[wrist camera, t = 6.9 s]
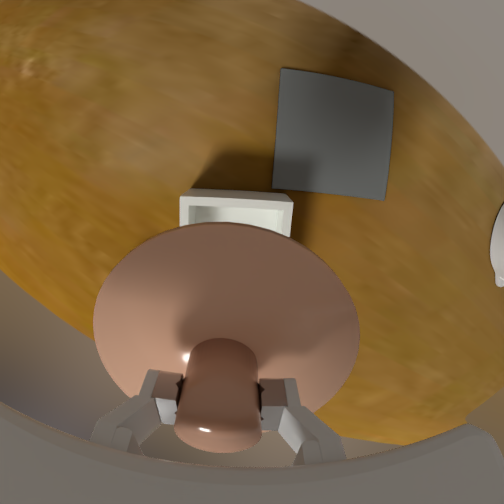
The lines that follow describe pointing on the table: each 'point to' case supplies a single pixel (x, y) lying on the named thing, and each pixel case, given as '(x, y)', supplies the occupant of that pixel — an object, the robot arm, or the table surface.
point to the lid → (226, 325)
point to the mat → (332, 135)
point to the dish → (237, 208)
